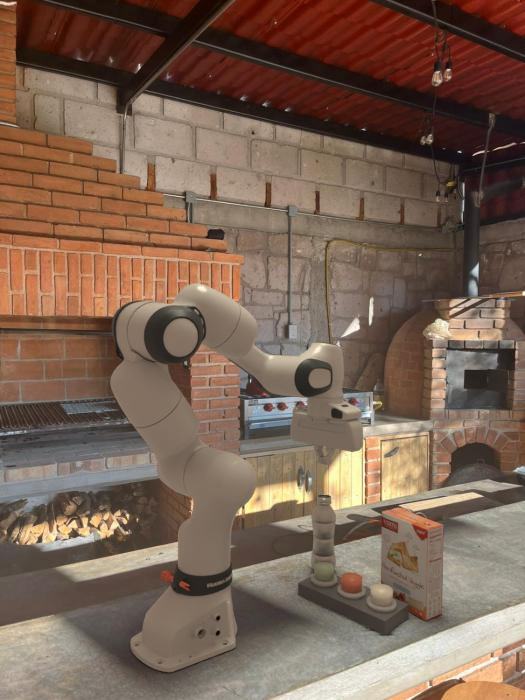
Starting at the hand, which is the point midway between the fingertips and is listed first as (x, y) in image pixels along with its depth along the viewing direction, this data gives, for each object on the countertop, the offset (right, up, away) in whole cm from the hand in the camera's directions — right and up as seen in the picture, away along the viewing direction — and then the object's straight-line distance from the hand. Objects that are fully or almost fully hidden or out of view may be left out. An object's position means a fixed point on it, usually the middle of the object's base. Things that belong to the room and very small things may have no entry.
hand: (324, 463), depth 132 cm
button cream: (+11, -28, -13) cm, 32 cm away
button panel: (+5, -31, -7) cm, 33 cm away
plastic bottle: (+1, -31, +11) cm, 33 cm away
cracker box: (+19, -32, -7) cm, 38 cm away
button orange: (+5, -27, -8) cm, 29 cm away
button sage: (0, -27, -2) cm, 27 cm away
